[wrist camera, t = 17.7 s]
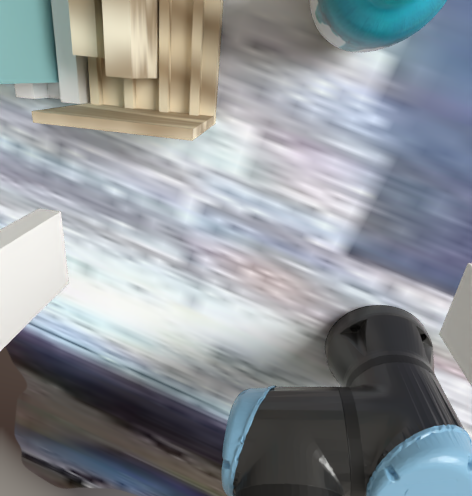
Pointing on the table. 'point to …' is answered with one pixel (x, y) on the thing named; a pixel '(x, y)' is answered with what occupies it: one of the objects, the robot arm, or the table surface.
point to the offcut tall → (131, 38)
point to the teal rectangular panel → (27, 42)
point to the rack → (158, 81)
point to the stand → (62, 65)
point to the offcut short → (87, 28)
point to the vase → (371, 21)
